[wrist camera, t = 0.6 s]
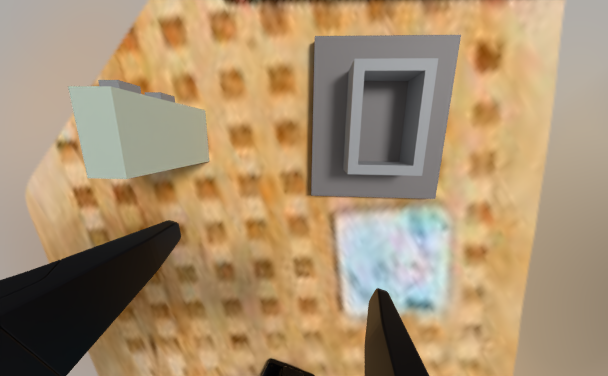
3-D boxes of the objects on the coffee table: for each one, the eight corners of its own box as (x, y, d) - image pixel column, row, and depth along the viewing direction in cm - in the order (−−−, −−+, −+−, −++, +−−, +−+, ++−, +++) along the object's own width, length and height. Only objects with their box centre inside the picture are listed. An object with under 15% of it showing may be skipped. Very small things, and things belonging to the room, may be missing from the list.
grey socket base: (311, 192, 22) (310, 204, 19) (314, 41, 19) (314, 16, 15) (429, 196, 22) (454, 208, 18) (453, 40, 19) (489, 14, 15)
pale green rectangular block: (186, 160, 22) (87, 177, 13) (180, 103, 21) (65, 74, 11) (209, 161, 22) (126, 178, 13) (204, 103, 21) (108, 74, 11)
